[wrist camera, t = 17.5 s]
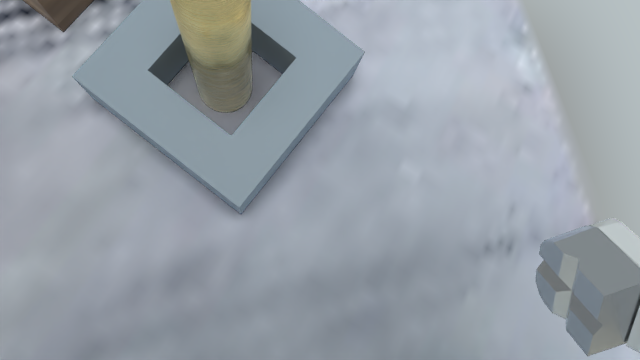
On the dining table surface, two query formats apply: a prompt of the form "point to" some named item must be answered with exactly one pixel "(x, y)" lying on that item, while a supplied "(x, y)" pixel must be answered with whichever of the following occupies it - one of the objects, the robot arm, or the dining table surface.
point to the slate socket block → (197, 129)
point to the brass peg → (218, 49)
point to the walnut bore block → (59, 10)
